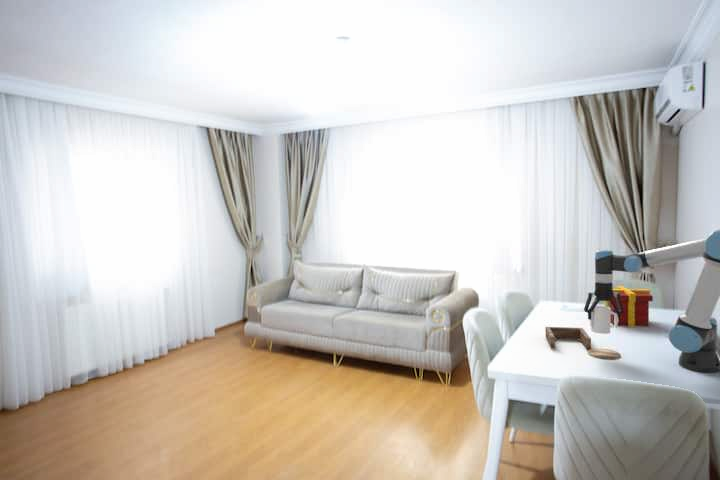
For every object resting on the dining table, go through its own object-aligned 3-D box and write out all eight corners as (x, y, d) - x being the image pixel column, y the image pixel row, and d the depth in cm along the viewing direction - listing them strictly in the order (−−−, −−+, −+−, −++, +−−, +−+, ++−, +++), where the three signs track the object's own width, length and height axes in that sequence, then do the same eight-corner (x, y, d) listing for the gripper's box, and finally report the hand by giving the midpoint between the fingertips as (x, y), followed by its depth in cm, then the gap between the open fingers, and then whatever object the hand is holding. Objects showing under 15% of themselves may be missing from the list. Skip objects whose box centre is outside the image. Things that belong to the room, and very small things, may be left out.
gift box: (641, 317, 284) (642, 286, 282) (656, 328, 260) (656, 293, 258) (598, 316, 291) (598, 285, 289) (609, 326, 267) (609, 293, 265)
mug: (620, 333, 216) (621, 308, 215) (613, 336, 210) (615, 311, 209) (594, 327, 225) (595, 304, 224) (587, 331, 219) (589, 307, 218)
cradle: (591, 350, 225) (591, 338, 225) (550, 348, 231) (550, 337, 230) (582, 338, 245) (582, 327, 245) (545, 337, 250) (545, 326, 250)
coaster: (624, 360, 210) (624, 358, 210) (591, 358, 214) (591, 356, 214) (615, 350, 223) (615, 349, 223) (585, 349, 227) (585, 347, 227)
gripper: (627, 280, 217) (627, 325, 218) (576, 280, 223) (576, 323, 224) (632, 283, 209) (632, 329, 211) (579, 282, 216) (580, 327, 217)
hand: (603, 326), depth 218 cm, fingers closed on mug, 10 cm apart
